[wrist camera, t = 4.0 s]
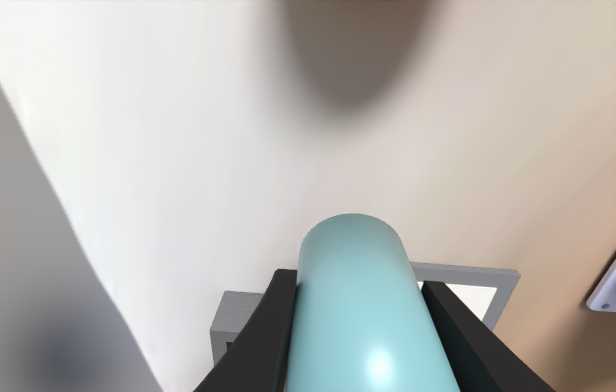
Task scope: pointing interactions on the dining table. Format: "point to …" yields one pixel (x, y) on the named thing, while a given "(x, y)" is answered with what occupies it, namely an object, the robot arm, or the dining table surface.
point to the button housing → (231, 320)
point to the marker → (361, 315)
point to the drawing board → (473, 287)
